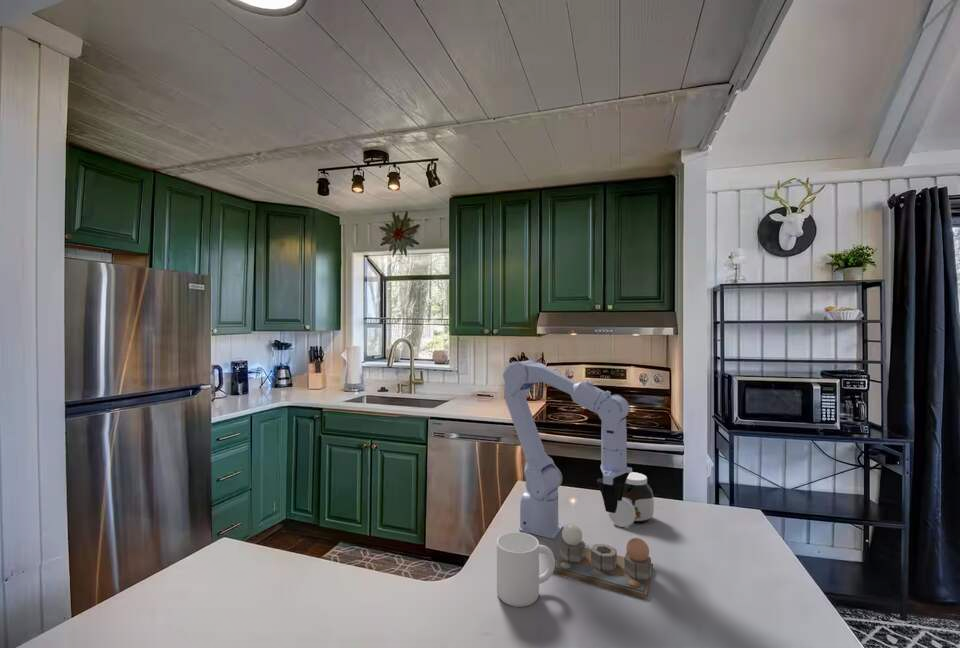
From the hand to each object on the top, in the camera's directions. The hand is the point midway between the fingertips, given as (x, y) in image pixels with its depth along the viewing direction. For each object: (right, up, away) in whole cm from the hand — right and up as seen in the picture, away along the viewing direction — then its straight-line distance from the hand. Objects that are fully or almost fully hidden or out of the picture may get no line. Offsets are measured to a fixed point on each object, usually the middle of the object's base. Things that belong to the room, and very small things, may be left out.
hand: (614, 505), depth 101 cm
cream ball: (-11, -5, -4) cm, 13 cm away
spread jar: (+9, -11, +15) cm, 21 cm away
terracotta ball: (+1, -5, -11) cm, 12 cm away
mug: (-22, -10, -16) cm, 30 cm away
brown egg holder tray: (-5, -10, -9) cm, 14 cm away
